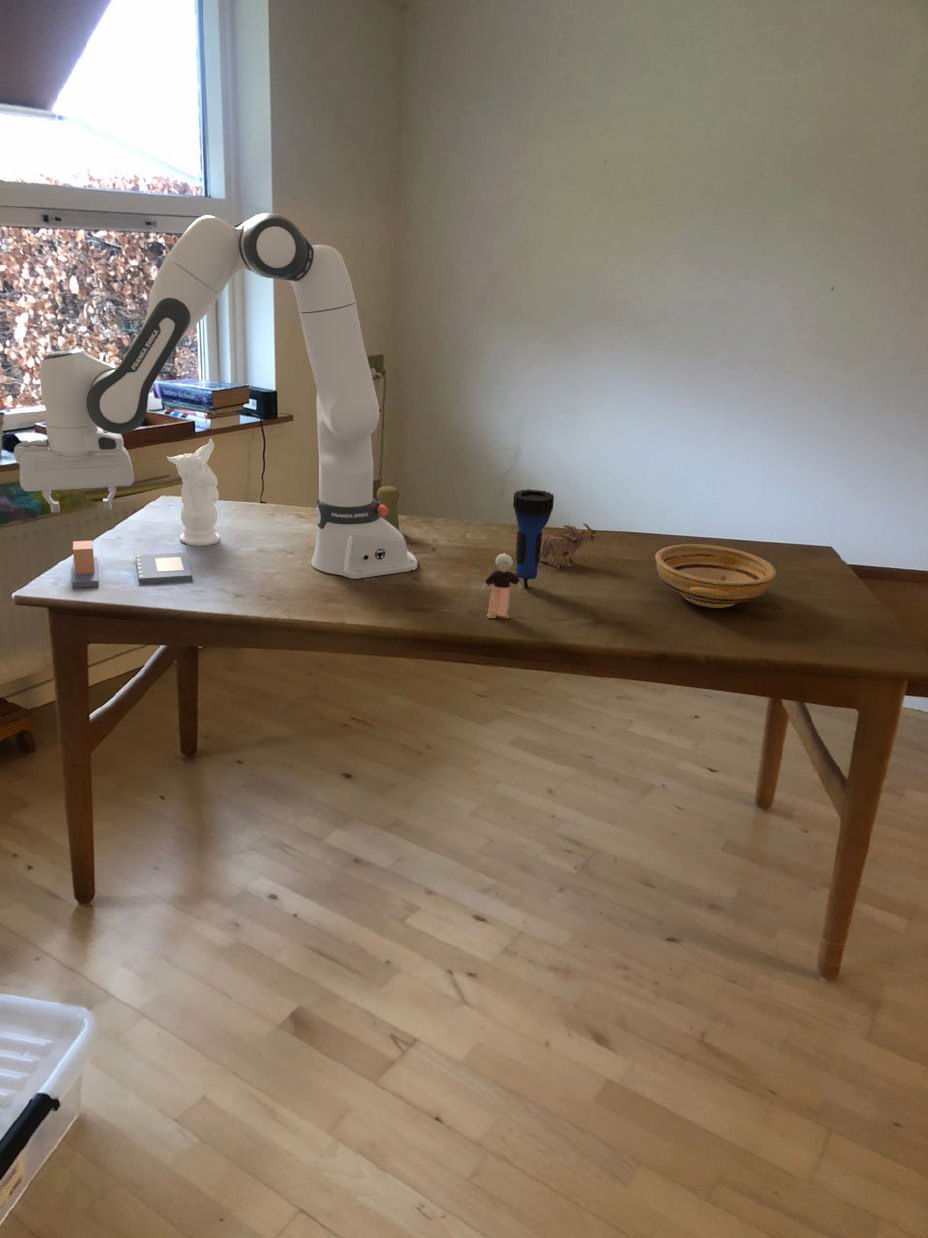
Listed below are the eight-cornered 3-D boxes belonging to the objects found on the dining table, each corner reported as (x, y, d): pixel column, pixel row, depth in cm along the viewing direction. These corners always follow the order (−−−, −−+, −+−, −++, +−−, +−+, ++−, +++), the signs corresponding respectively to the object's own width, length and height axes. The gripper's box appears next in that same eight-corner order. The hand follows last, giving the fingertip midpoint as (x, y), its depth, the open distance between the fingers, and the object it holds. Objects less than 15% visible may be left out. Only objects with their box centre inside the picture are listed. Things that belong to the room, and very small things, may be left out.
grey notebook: (185, 557, 202) (185, 551, 201) (192, 580, 190) (192, 574, 189) (135, 560, 198) (135, 554, 198) (139, 584, 186) (138, 578, 186)
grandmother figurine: (485, 622, 179) (490, 558, 174) (477, 614, 182) (482, 551, 177) (522, 618, 182) (528, 555, 177) (513, 610, 185) (519, 548, 180)
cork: (395, 537, 223) (397, 491, 219) (371, 534, 224) (372, 488, 220) (402, 530, 228) (404, 485, 224) (378, 527, 229) (379, 482, 225)
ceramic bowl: (768, 634, 182) (776, 595, 179) (641, 613, 188) (647, 575, 185) (769, 584, 208) (776, 549, 205) (657, 567, 214) (662, 533, 211)
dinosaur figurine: (578, 556, 218) (582, 517, 215) (592, 565, 214) (597, 525, 210) (526, 562, 213) (530, 522, 209) (539, 570, 208) (543, 530, 204)
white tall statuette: (199, 550, 207) (192, 450, 198) (154, 540, 211) (146, 442, 202) (234, 535, 217) (230, 440, 208) (191, 526, 221) (185, 431, 213)
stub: (97, 562, 196) (94, 533, 193) (98, 586, 184) (95, 555, 181) (73, 563, 194) (70, 534, 192) (72, 588, 182) (69, 557, 180)
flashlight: (517, 597, 192) (525, 501, 184) (499, 583, 199) (507, 490, 191) (551, 593, 195) (561, 498, 188) (533, 579, 202) (541, 488, 194)
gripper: (11, 444, 172) (22, 518, 178) (130, 440, 179) (137, 511, 184) (13, 437, 178) (24, 508, 183) (129, 433, 184) (136, 502, 190)
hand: (82, 510), depth 184 cm, fingers open, 8 cm apart
